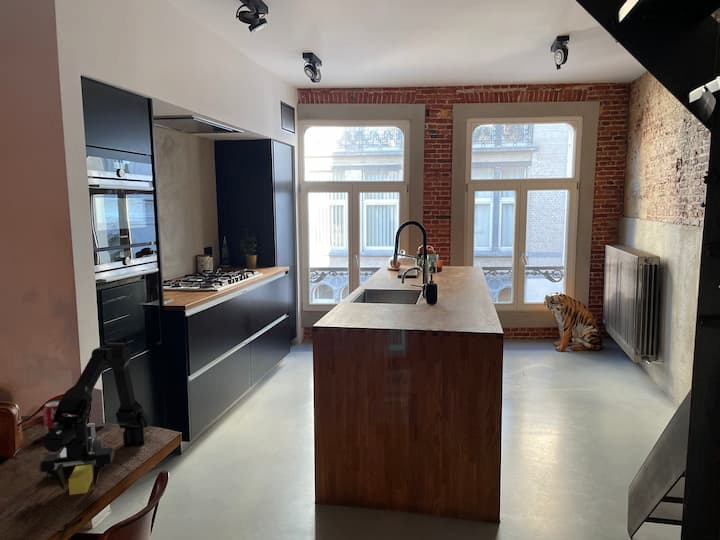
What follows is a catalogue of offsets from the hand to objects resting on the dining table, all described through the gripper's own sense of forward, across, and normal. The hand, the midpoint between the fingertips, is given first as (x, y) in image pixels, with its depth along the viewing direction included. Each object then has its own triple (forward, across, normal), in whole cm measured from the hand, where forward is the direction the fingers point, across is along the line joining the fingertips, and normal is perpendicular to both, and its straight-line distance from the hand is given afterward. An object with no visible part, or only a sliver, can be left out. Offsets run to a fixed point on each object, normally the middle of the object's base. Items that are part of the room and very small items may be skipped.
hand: (79, 486), depth 152 cm
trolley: (+1, +5, -18) cm, 19 cm away
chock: (+1, 0, -2) cm, 2 cm away
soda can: (+1, +19, -46) cm, 50 cm away
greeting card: (+1, +9, -50) cm, 51 cm away
